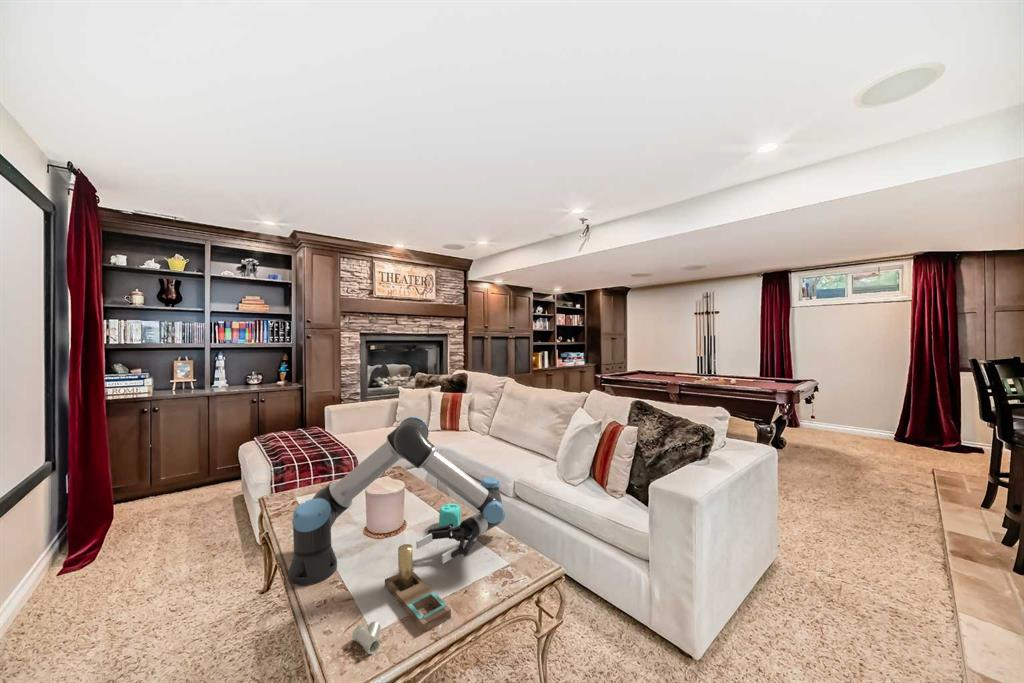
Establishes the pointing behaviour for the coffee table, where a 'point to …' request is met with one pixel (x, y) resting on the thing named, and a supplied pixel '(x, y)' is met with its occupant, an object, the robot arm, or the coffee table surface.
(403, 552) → the brass peg
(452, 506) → the decorative dice
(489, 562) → the coffee table surface
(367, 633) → the pipe fitting
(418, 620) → the walnut rail
